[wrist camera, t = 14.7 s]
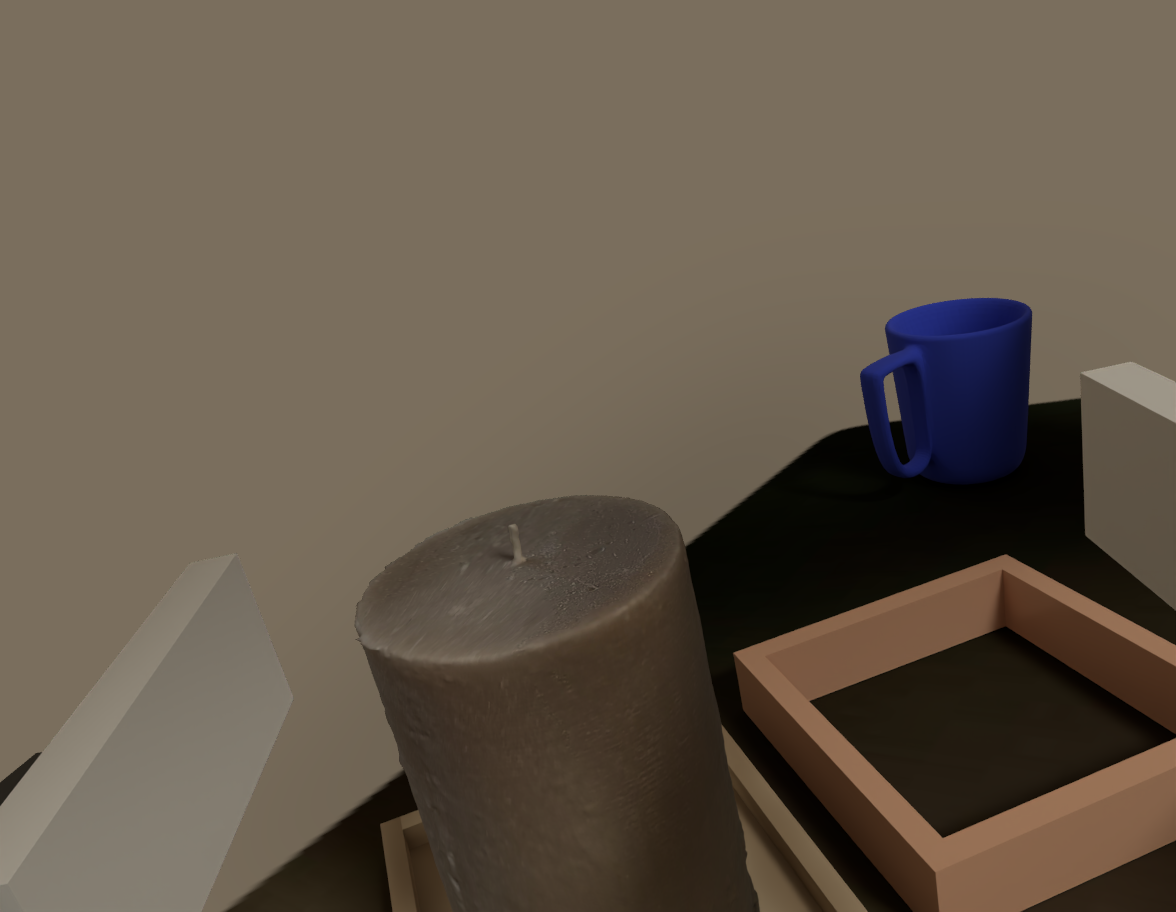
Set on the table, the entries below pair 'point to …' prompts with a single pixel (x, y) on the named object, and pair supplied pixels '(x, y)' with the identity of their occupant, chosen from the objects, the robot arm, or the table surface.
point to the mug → (954, 390)
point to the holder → (1015, 837)
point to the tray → (773, 843)
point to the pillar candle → (559, 712)
